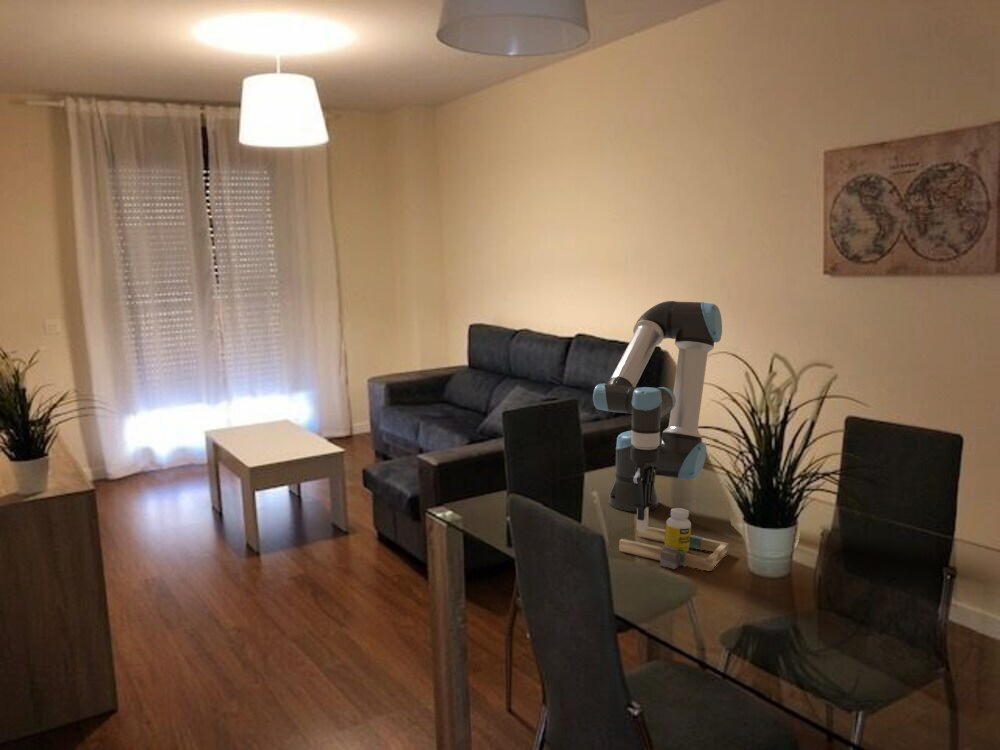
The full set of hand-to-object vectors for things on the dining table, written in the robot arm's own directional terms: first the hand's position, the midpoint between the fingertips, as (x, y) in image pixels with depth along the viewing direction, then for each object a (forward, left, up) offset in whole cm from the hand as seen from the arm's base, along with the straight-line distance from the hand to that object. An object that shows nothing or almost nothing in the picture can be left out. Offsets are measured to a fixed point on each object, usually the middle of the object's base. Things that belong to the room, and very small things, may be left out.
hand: (642, 529), depth 222 cm
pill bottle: (0, +10, -4) cm, 11 cm away
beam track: (+2, +9, -4) cm, 10 cm away
